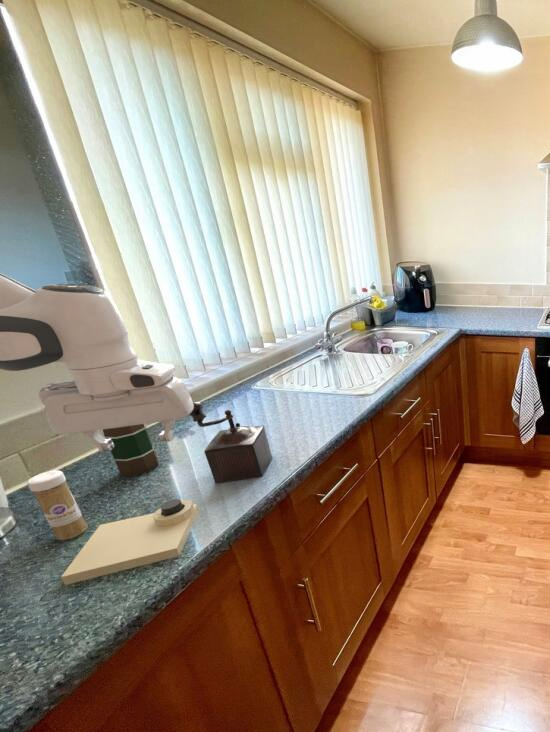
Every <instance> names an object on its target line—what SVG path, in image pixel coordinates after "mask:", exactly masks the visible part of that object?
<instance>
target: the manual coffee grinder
mask: <svg viewBox="0 0 550 732" xmlns="http://www.w3.org/2000/svg"><path fill="white" fill-rule="evenodd" d="M193 405H194V409H193V411H192V412H191V413H190V414H189V415H188V416H190V417H192V418H193V419H192V422H196V423H197V425H198V427H201V428H206V427H210V426H214V425H215V426H216V425H218V424H221V423H224V422H226V421H228V424H229V428H228V429H221V430H219V431H218V432H217V433H216V435H214V437H213V438H212V440H211V441H210V442H209V443H208V445H207V446H206V447H205V449H204V451H203V452H204V455H205V457H206V461H207V463H208V466H209V470H210V471H211V475H212V478H213V481H214V484H217V485H218V484H226V483H231V482H232V483H233V482H240V481H245V480H251V479H257V478H262V477H264V475H265V473H266V471H267V470H268V467H269V465H270V463H271V462H272V459H273V454H272V452H271V447H270V443H269V439H268V436H267V432H266V428H265V425H263V424H262V425H254V426H251V425H241V423H239V422H237V423H234V420H233V419H234V415H233V414H232V411H231V410H230V409H226V410H225V411H224V415H225V417H223V418H220V419H216V420H213V421H212V420H211V421H209V422H208V421H207V422H204V420H205V419H206V418H207V415H206V414H205V413H204V412H203V409H204V405H203V404H202V403H201V402H200V401H195V400H194V401H193Z"/></svg>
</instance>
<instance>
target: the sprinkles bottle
mask: <svg viewBox="0 0 550 732" xmlns="http://www.w3.org/2000/svg"><path fill="white" fill-rule="evenodd" d="M26 484H27V486H28V489H29V490H30V492H31V493H33V495H34V496H35V498H36V499H35V500H36V501H37V503H38V505H39V507H40V509H41V511H42V513H43V515H44V517H45V519H46V521H47V523H48V525H49V527H51V529H52V531H53V533H54V535H55V539H56V540H57V541H67V540H71V539H74V538H77V537H79V536H81V535H82V534H84V533H85V532H86V531H88V529H89V524H87V523H86V521H85V519H84V517H83V515H82V514H83V513H82V512H81V509H80V507H79V505H78V503H77V501H76V499H75V497H74V495H73V493H72V492H71V490H70V488H69V486H68V484H67V478H66V476H65V474H64V471H62V470H48V471H45V472H41V473H38V474H37V475H35V476H32V477H31V478H29V479H28V480H27V482H26Z"/></svg>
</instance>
